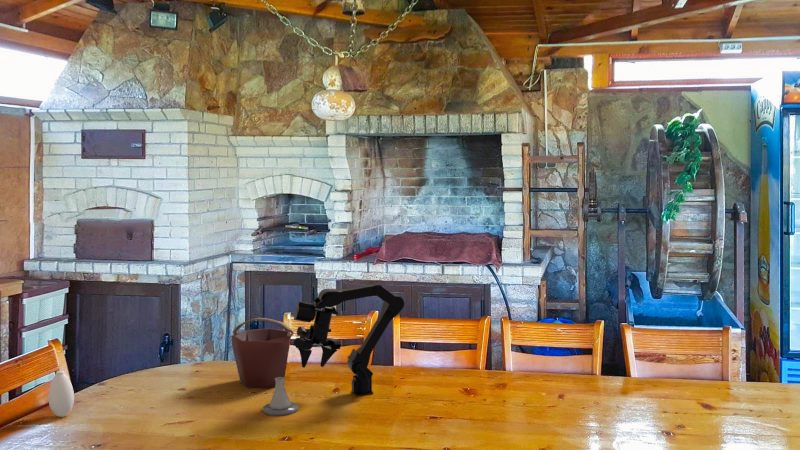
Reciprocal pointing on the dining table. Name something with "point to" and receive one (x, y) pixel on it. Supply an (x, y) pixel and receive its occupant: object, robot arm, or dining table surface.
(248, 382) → the bucket
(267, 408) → the slate coaster
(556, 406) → the dining table surface
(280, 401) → the flask
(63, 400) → the grey teardrop piece
